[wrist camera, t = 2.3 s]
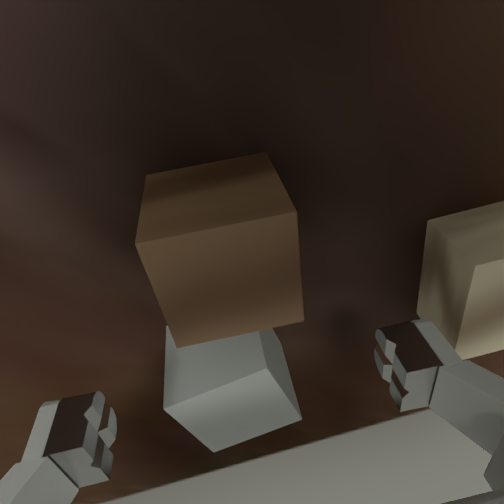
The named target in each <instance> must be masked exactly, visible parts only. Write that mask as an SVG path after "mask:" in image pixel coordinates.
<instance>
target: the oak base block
mask: <svg viewBox="0 0 504 504" xmlns="http://www.w3.org/2000/svg"><path fill="white" fill-rule="evenodd" d="M416 313H417V315H418V316H419V317H420V319H422V318H429V319H430V320H431V321H432V322H433V323H434V325H435V326H436V327H437V328H438V330H439V331H440V332H441V333H442V335H443V336H444V337H445V339H446V340H447V341H448V342H449V344H450V345H451V346H452V347H453V349H454V350H455V351H456V353H457V354H458V355H459V356H460V358H461V359H462V360H465V359H469V358H472V357H476V356H480V355H484V354H488V353H492V352H495V351H499V350H503V349H504V201H501V202H497V203H493V204H490V205H486V206H482V207H478V208H474V209H470V210H466V211H462V212H458V213H454V214H450V215H446V216H442V217H438V218H434V219H430V220H428V222H427V230H426V238H425V246H424V255H423V263H422V271H421V279H420V287H419V296H418V304H417V312H416Z"/></svg>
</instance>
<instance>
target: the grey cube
mask: <svg viewBox="0 0 504 504" xmlns="http://www.w3.org/2000/svg"><path fill="white" fill-rule="evenodd" d="M163 409H164V410H165V411H166V412H167V413H168V414H169V415H171V416H172V417H173V418H174V419H175V420H176V421H178V422H179V423H180V424H181V425H182V426H183V427H184V428H186V429H187V430H188V431H189V432H190V433H191V434H193V435H194V436H195V437H196V438H197V439H198V440H200V441H201V442H202V443H203V444H204V445H205V446H207V447H208V448H209V449H210V450H211V451H212V452H213V453H214V452H217V451H219V450H222V449H225V448H227V447H230V446H233V445H235V444H238V443H241V442H243V441H246V440H249V439H251V438H254V437H257V436H259V435H262V434H265V433H267V432H270V431H273V430H275V429H278V428H281V427H283V426H286V425H289V424H292V423H294V422H297V421H300V420H302V416H301V413H300V409H299V406H298V402H297V398H296V395H295V391H294V388H293V384H292V381H291V377H290V373H289V370H288V366H287V363H286V359H285V356H284V352H283V348H282V345H281V342H280V341H279V339H278V337H277V336H276V334H275V332H274V331H273V329H272V328H270V329H265V330H260V331H256V332H251V333H246V334H242V335H237V336H233V337H228V338H223V339H219V340H214V341H209V342H205V343H200V344H195V345H191V346H186V347H182V348H177V347H176V345H175V342H174V340H173V337H172V335H171V332H170V330H169V327H168V326H166V348H165V375H164V402H163Z"/></svg>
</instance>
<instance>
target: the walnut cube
mask: <svg viewBox="0 0 504 504" xmlns="http://www.w3.org/2000/svg"><path fill="white" fill-rule="evenodd" d="M135 246H136V248H137V251H138V253H139V256H140V258H141V261H142V263H143V266H144V268H145V270H146V273H147V275H148V278H149V280H150V283H151V285H152V288H153V290H154V293H155V295H156V298H157V300H158V303H159V305H160V308H161V310H162V313H163V315H164V318H165V320H166V323H167V325H168V327H169V330H170V332H171V335H172V337H173V340H174V342H175V345H176V347H177V348H182V347H186V346H191V345H195V344H200V343H205V342H209V341H214V340H219V339H223V338H228V337H233V336H237V335H242V334H246V333H251V332H256V331H260V330H265V329H270V328H274V327H279V326H284V325H288V324H293V323H298V322H302V321H304V311H303V296H302V281H301V266H300V251H299V236H298V221H297V211H296V209H295V207H294V205H293V203H292V201H291V199H290V197H289V195H288V193H287V191H286V189H285V187H284V185H283V184H282V182H281V180H280V178H279V176H278V174H277V172H276V170H275V168H274V166H273V164H272V162H271V160H270V158H269V156H268V154H267V152H263V153H258V154H253V155H248V156H242V157H237V158H232V159H227V160H221V161H216V162H211V163H206V164H200V165H195V166H190V167H185V168H179V169H174V170H169V171H164V172H158V173H153V174H148V175H146V178H145V184H144V190H143V196H142V203H141V209H140V215H139V221H138V227H137V234H136V240H135Z"/></svg>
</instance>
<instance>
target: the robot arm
mask: <svg viewBox="0 0 504 504" xmlns="http://www.w3.org/2000/svg"><path fill="white" fill-rule="evenodd" d="M375 338H376V340H377V342H378V344H377V345H376V346H375V347H374V357H375V362H376V365H377V368H378V371H379V373H380V375H381V377H382V378H383V379H384V380H386V381H388V382H389V383H390V390H389V392H390V394H391V396H392V397H393V399H394V401H395V403H396V405H397V407H398V409H399V410H400V412H402V411H407V410H412V409H417V408H422V407H427V406H429V408H430V409H432V410H433V411H434V412H436V413H437V414H438V415H440V416H441V417H442V418H444V419H445V420H446V421H447V422H449V423H450V424H451V425H453V426H454V427H455V428H457V429H458V430H459V431H461V432H462V433H463V434H465V435H466V436H467V437H469V438H470V439H471V440H473V441H474V442H475V443H476V444H478V445H479V446H481V447H482V448H483V449H485V450H486V451H487V452H489V453H490V454H491V455H492V458H491V460H490V462H489V464H488V466H487V468H486V470H485V474H484V477H485V479H486V480H487V482H488V483H489V485H490V487H491V488H492V490H493V491H491V492H487V493H483V494H479V495H475V496H471V497H467V498H463V499H459V500H455V501H451V502H447V503H442V504H504V378H502V377H500V376H498V375H496V374H494V373H492V372H490V371H488V370H486V369H485V368H483V367H481V366H479V365H477V364H475V363H473V362H471V361H469V360H466V361H463V360H462V359H461V358H460V356H459V355H458V354H457V353H456V351H455V350H454V349H453V347H452V346H451V345H450V344H449V342H448V341H447V340H446V339H445V337H444V336H443V335H442V333H441V332H440V331H439V330H438V328H437V327H436V326H435V325H434V323H433V322H432V321H431V320H430V319H429V318H422V319H418V320H414V321H410V322H409V321H407V322H403V323H399V324H395V325H391V326H386V327H382V328H378V329H377V330H376V333H375ZM104 401H105V397H104V395H103V394H102V392H101V391H97V392H92V393H87V394H82V395H77V396H72V397H67V398H62V399H57V400H52V401H48V402H44V403H43V404H42V406H41V407H40V409H39V411H38V414H37V417H36V420H35V423H34V426H33V428H32V431H31V434H30V437H29V440H28V443H27V446H26V449H25V452H24V454H23V457H22V460H21V462H20V463H16V464H14V466H13V467H12V468H11V469H10V470H9V471H8V472H7V474H6V475H5V476H4V477H3V478H2V479H1V480H0V504H71V502H72V500H73V499H74V497H75V496H76V494H77V492H78V491H79V489H78V488H80V487H84V486H88V485H92V484H96V483H99V482H103V481H107V480H110V473H111V466H112V460H113V454H112V452H111V451H110V449H109V448H110V446H111V445H112V443H113V442H114V441H115V439H116V432H117V423H116V416H115V413H114V411H113V409H112V407H111V406H109V405H106V404H104Z"/></svg>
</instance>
